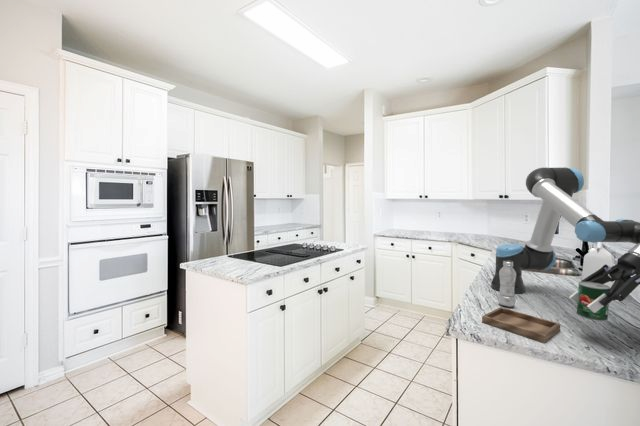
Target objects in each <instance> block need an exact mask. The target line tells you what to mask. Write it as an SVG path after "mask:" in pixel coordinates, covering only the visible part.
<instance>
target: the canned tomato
mask: <svg viewBox="0 0 640 426" xmlns="http://www.w3.org/2000/svg"><path fill="white" fill-rule="evenodd" d="M577 290H578V301H577V303H576V313H575V314H576V315H577V316H579V317H581V318H583V319H585V320H586V319H587V320H591V321H595V322H596V321H598V322H606V321H608V316H609V305H610V303H609V304H607V305H606V306H603V307H602V308H601V309H599V310H598V311H597V312H595V313H593V312H592V311H591V310H590V309H589V308H588V307H587V306H588V305H589V304H590V303H592V302H593V301H594V300H596V299H597V298H598V297H599V296H601V295H602V294H603V293H604V294H606V293H605V292H608V291H609V290H610V287H609V286H607V285H604V284H600V283H594V282H581V281H579V282H578V288H577ZM606 295H607V294H606Z"/></svg>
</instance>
